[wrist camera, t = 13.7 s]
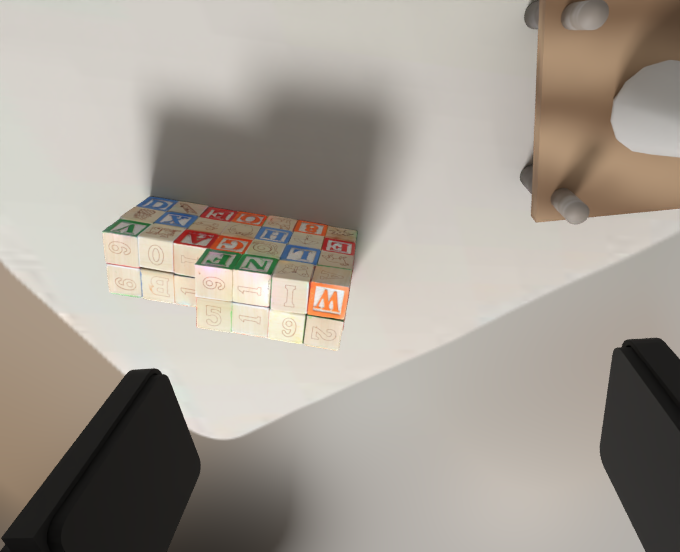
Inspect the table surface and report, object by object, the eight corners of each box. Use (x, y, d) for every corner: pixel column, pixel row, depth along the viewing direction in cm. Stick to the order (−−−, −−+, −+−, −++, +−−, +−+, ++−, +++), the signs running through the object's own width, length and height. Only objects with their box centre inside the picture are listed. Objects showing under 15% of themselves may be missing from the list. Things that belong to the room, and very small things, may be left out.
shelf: (518, -4, 37) (564, -16, 27) (715, -37, 35) (841, -62, 25) (513, 193, 44) (549, 239, 34) (677, 176, 42) (764, 220, 32)
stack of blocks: (152, 250, 51) (88, 310, 40) (149, 194, 48) (79, 243, 37) (350, 283, 50) (339, 353, 39) (359, 229, 47) (350, 288, 37)
